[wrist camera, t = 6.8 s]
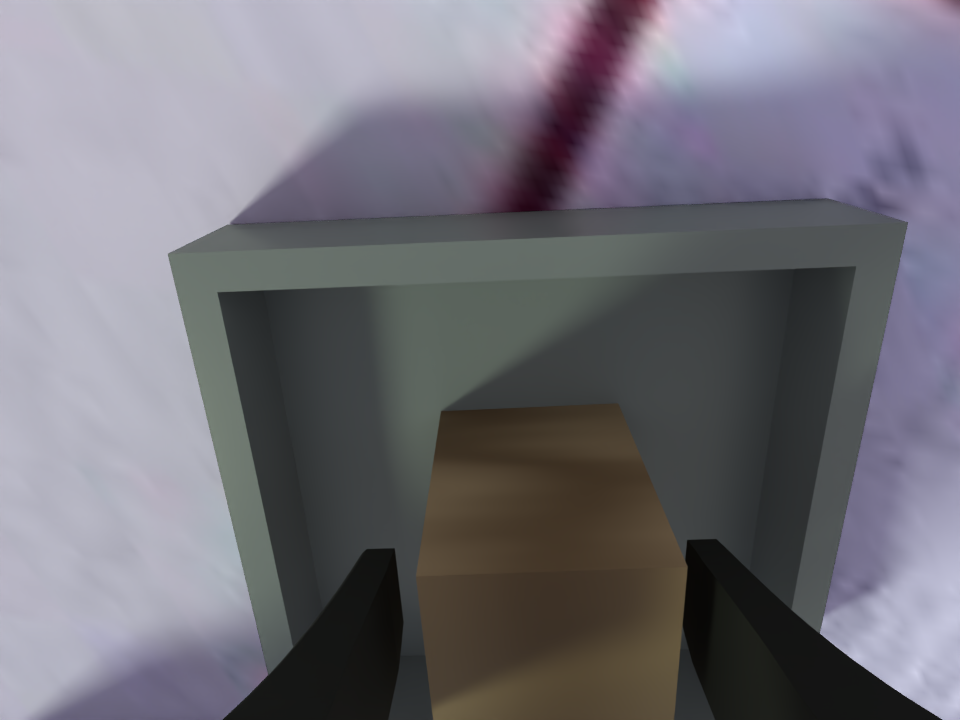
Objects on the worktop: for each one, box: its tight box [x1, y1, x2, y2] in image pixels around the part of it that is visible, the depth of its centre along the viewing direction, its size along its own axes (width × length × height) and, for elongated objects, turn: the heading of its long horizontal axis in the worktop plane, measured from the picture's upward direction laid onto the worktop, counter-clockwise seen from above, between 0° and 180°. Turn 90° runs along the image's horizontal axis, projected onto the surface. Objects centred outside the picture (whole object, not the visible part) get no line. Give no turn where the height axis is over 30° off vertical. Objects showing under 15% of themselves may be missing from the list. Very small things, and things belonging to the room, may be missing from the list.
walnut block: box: [416, 403, 688, 720], centre depth 14 cm, size 4×4×6 cm
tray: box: [168, 199, 908, 720], centre depth 16 cm, size 14×14×3 cm
